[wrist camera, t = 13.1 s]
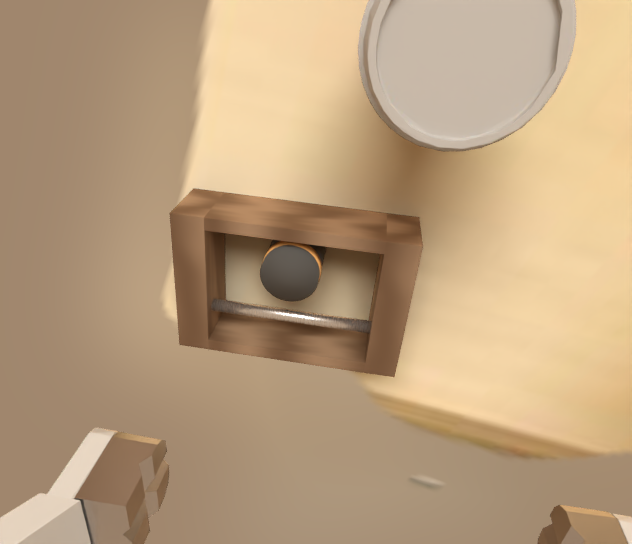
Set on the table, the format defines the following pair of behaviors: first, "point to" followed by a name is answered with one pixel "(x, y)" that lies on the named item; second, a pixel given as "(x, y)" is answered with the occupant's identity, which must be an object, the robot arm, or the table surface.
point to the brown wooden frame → (300, 227)
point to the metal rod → (291, 315)
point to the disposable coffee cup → (463, 66)
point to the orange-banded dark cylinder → (292, 269)
